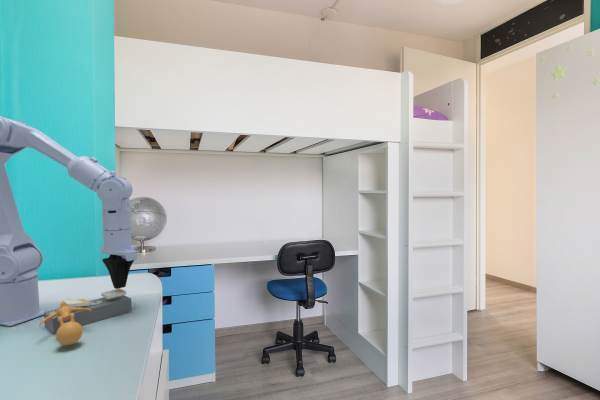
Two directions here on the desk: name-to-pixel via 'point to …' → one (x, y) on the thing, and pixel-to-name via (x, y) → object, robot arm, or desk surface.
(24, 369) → the desk surface
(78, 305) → the near rocker
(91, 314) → the power strip
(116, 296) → the far rocker
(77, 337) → the figurine
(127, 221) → the robot arm
